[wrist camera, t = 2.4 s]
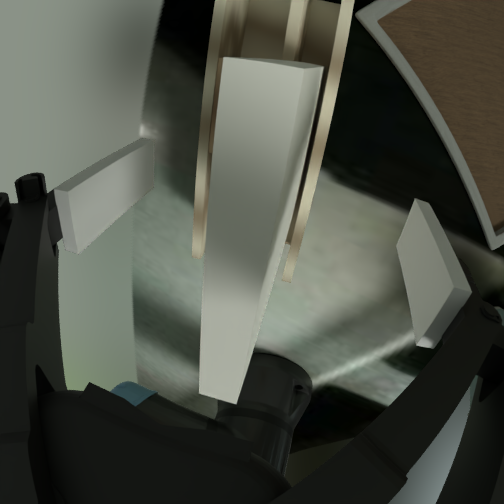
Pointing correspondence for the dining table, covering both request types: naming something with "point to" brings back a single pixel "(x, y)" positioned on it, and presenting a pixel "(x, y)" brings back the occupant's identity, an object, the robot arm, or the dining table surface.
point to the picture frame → (454, 85)
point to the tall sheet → (250, 206)
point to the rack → (279, 48)
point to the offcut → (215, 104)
